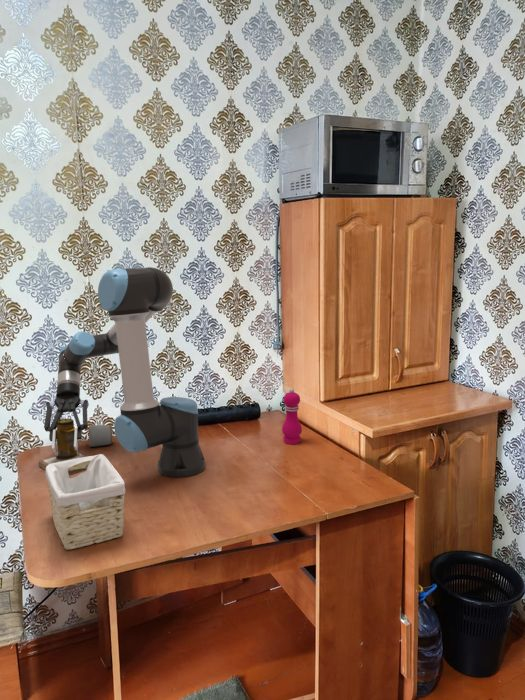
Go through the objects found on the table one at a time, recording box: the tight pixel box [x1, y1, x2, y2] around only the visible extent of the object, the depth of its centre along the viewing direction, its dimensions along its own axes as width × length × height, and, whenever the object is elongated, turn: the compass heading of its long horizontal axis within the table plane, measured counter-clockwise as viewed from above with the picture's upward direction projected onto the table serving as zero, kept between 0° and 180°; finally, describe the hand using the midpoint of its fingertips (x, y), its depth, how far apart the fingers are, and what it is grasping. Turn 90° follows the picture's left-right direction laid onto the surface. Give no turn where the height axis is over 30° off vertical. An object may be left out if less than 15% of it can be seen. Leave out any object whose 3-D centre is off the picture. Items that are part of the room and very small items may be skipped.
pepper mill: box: [281, 387, 303, 445], centre depth 204 cm, size 7×7×20 cm
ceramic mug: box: [88, 424, 114, 448], centre depth 206 cm, size 11×8×8 cm
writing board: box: [38, 451, 88, 476], centre depth 186 cm, size 14×13×2 cm
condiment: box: [54, 417, 81, 462], centre depth 184 cm, size 7×8×12 cm
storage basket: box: [45, 453, 126, 550], centre depth 145 cm, size 24×16×15 cm
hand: (64, 448), depth 181 cm, fingers closed on condiment, 6 cm apart
